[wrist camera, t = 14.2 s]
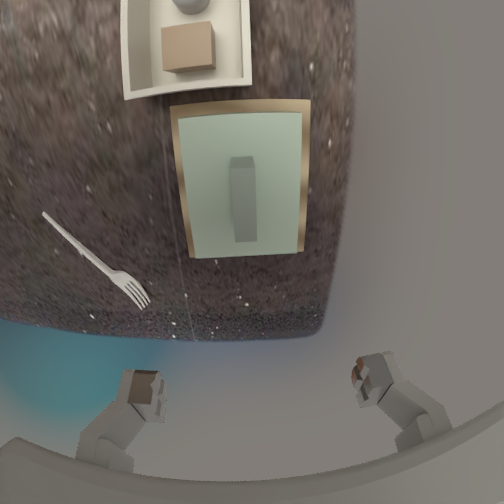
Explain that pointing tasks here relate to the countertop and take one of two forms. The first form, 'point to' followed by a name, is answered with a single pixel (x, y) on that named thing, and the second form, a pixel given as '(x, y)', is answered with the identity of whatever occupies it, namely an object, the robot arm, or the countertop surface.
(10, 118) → the countertop surface
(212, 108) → the tan flat sheet
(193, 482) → the robot arm
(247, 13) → the storage box
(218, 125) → the lid
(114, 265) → the countertop surface
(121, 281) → the fork
